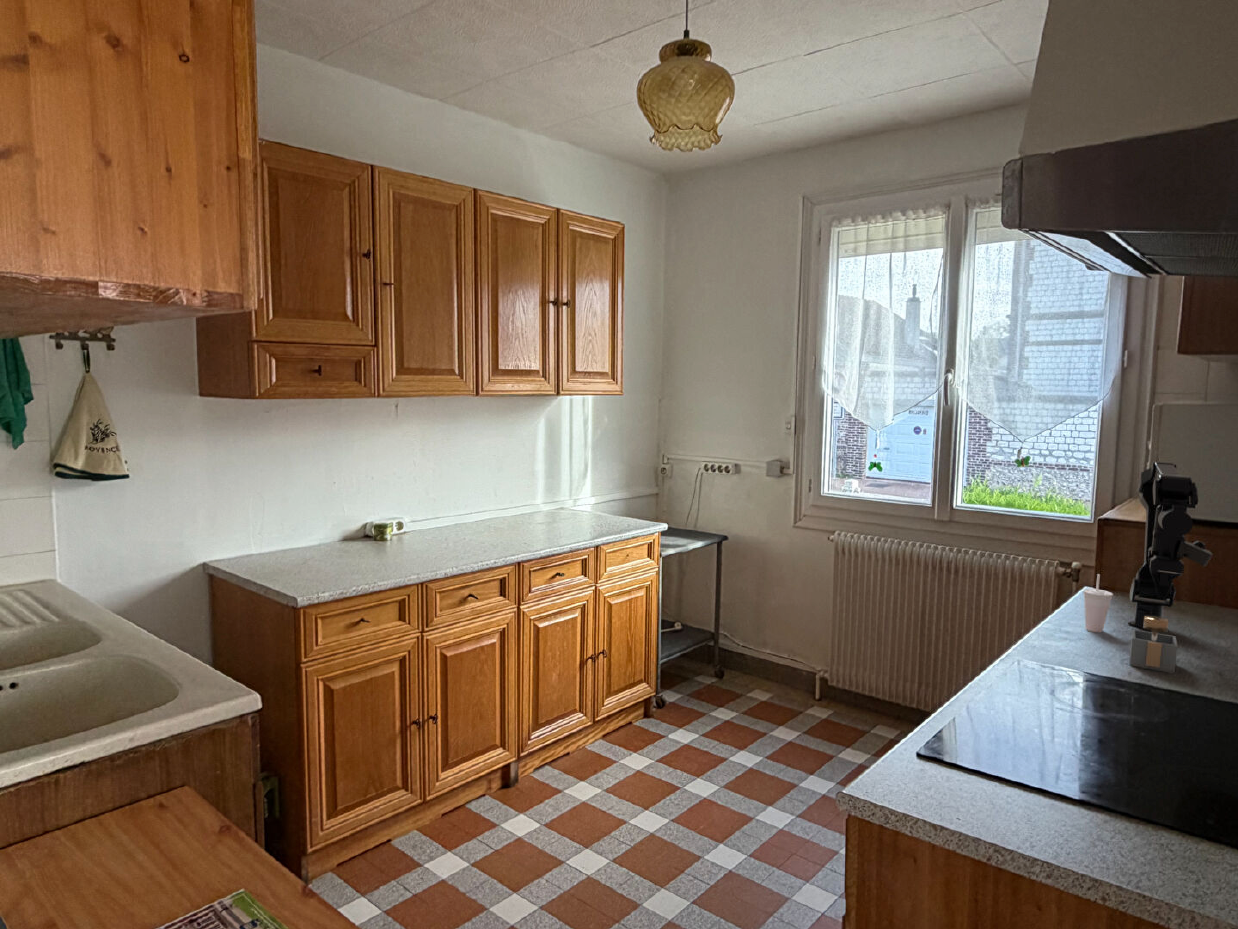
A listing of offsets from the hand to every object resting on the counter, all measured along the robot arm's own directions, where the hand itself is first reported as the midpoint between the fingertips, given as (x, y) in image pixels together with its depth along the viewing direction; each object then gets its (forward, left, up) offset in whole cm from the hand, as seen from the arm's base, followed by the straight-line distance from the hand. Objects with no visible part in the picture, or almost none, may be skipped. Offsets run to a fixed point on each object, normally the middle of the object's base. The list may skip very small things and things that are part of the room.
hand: (1161, 594), depth 187 cm
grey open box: (+16, +6, -12) cm, 21 cm away
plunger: (+16, +6, -11) cm, 20 cm away
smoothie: (+2, -13, -12) cm, 18 cm away
